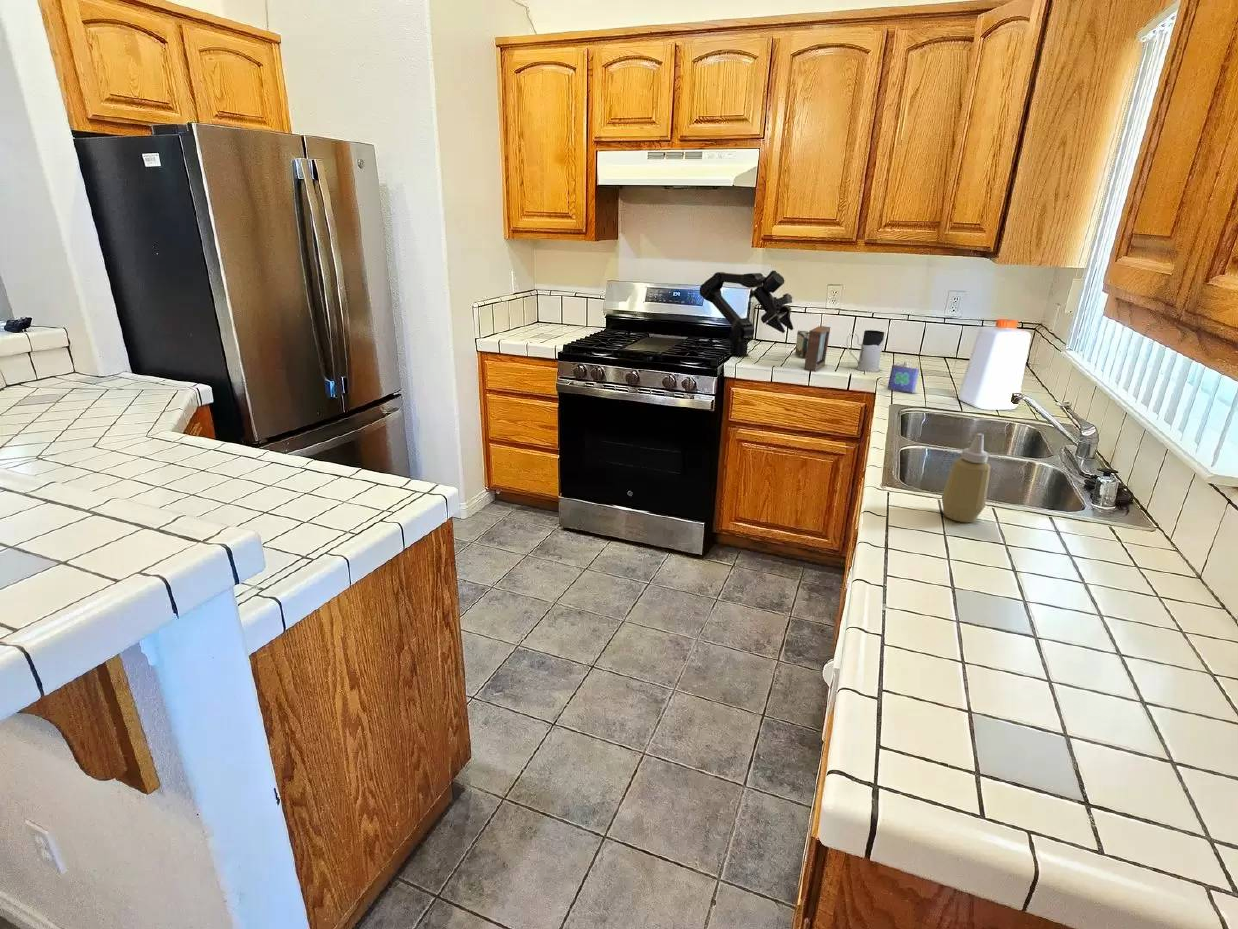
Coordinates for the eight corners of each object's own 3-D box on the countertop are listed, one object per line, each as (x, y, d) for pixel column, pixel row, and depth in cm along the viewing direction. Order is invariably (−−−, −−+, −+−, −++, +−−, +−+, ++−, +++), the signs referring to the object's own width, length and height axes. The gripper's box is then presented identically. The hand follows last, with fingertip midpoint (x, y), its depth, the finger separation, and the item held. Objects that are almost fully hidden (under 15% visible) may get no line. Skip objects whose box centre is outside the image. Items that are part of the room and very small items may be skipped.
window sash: (810, 363, 256) (814, 335, 252) (799, 362, 258) (803, 334, 254) (814, 361, 261) (818, 333, 257) (803, 359, 263) (807, 332, 259)
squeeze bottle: (933, 517, 133) (953, 434, 126) (942, 505, 139) (962, 425, 132) (976, 529, 128) (999, 444, 122) (984, 516, 134) (1006, 434, 128)
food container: (815, 359, 276) (819, 335, 272) (801, 358, 276) (804, 335, 272) (808, 353, 287) (811, 330, 284) (794, 352, 287) (797, 330, 284)
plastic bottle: (991, 398, 226) (1012, 316, 216) (1022, 410, 212) (1046, 324, 202) (951, 398, 223) (971, 316, 213) (980, 411, 210) (1003, 323, 199)
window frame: (815, 371, 254) (821, 331, 249) (803, 369, 256) (809, 330, 251) (824, 364, 267) (830, 327, 261) (814, 363, 269) (819, 325, 263)
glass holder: (880, 372, 257) (887, 334, 251) (843, 369, 260) (849, 331, 254) (877, 367, 265) (884, 330, 259) (841, 364, 268) (847, 328, 262)
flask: (915, 392, 229) (921, 362, 225) (912, 394, 227) (919, 363, 223) (888, 387, 234) (894, 358, 230) (886, 389, 232) (891, 359, 228)
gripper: (772, 288, 249) (795, 321, 247) (789, 285, 263) (812, 315, 262) (750, 306, 256) (773, 338, 254) (769, 302, 270) (790, 332, 269)
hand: (788, 330), depth 260 cm, fingers open, 9 cm apart
